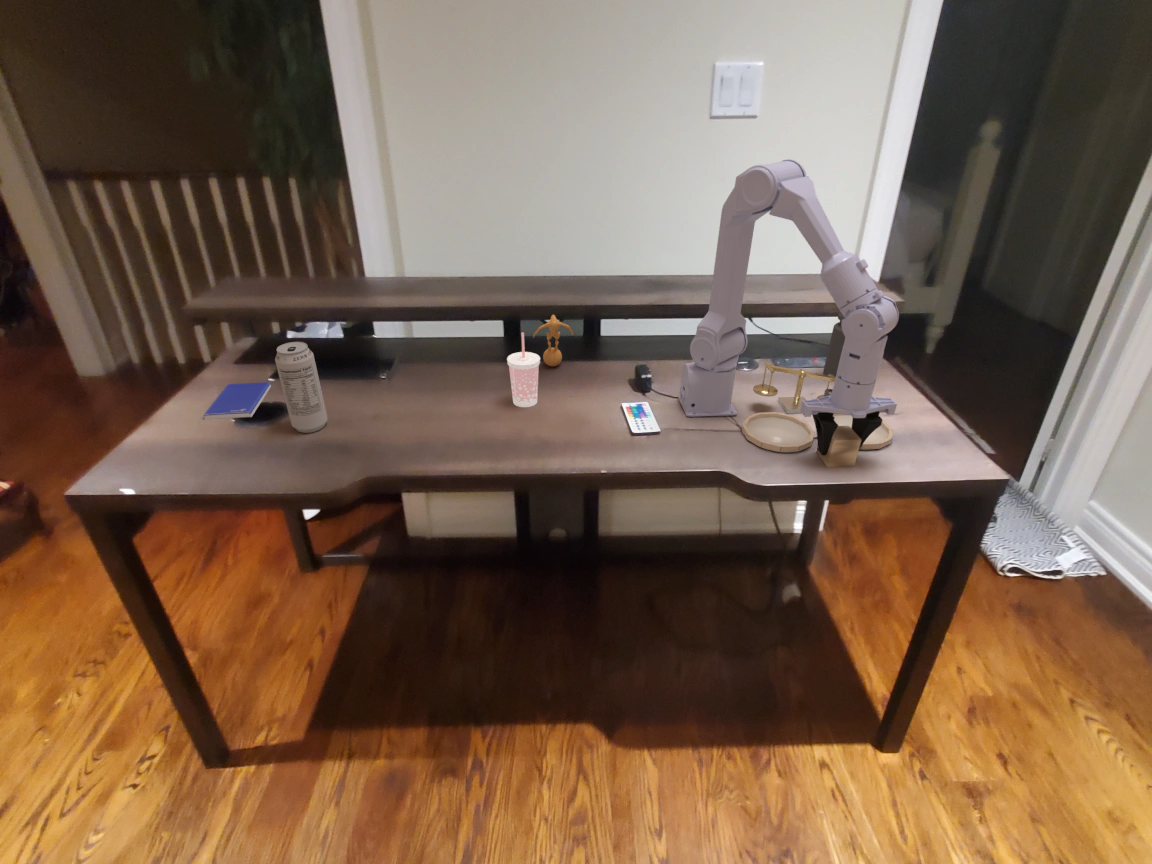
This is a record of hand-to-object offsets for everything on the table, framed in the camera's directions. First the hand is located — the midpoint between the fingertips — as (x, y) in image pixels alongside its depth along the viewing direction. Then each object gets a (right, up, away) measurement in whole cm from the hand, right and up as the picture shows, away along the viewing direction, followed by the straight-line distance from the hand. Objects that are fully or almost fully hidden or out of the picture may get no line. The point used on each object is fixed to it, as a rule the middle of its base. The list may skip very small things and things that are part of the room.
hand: (836, 451), depth 105 cm
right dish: (+6, +3, +8) cm, 11 cm away
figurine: (-48, +17, +30) cm, 59 cm away
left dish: (-8, +3, +7) cm, 11 cm away
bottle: (+12, +15, +28) cm, 34 cm away
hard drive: (-107, +8, +16) cm, 108 cm away
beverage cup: (-52, +9, +17) cm, 56 cm away
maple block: (0, -1, +1) cm, 1 cm away
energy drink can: (-90, +4, +9) cm, 90 cm away
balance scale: (-1, +8, +16) cm, 18 cm away
